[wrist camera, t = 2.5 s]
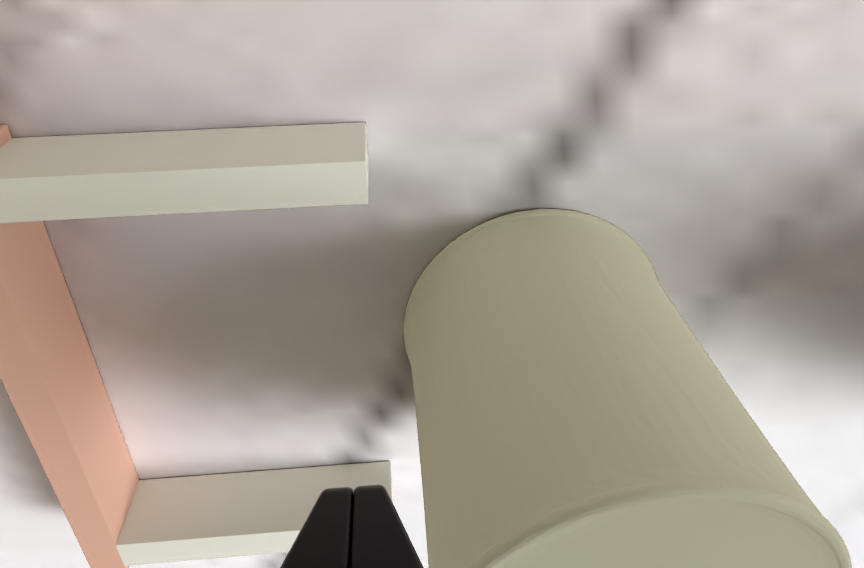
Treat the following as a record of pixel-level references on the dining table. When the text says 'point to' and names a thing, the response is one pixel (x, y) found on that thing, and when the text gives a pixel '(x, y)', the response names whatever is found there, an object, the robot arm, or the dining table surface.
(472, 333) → the can
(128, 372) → the dining table surface
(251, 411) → the dining table surface
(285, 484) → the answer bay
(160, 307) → the dining table surface
